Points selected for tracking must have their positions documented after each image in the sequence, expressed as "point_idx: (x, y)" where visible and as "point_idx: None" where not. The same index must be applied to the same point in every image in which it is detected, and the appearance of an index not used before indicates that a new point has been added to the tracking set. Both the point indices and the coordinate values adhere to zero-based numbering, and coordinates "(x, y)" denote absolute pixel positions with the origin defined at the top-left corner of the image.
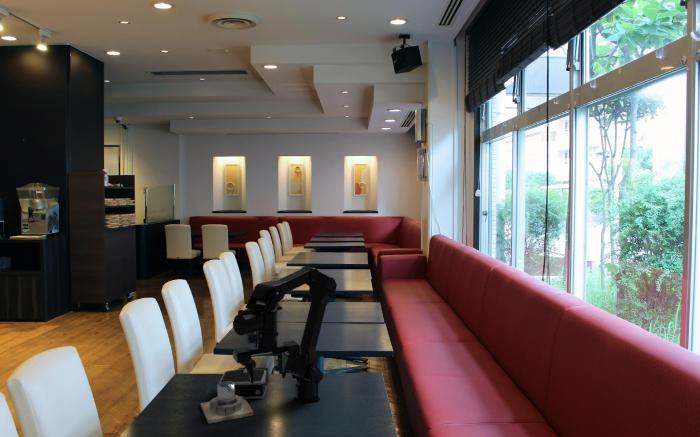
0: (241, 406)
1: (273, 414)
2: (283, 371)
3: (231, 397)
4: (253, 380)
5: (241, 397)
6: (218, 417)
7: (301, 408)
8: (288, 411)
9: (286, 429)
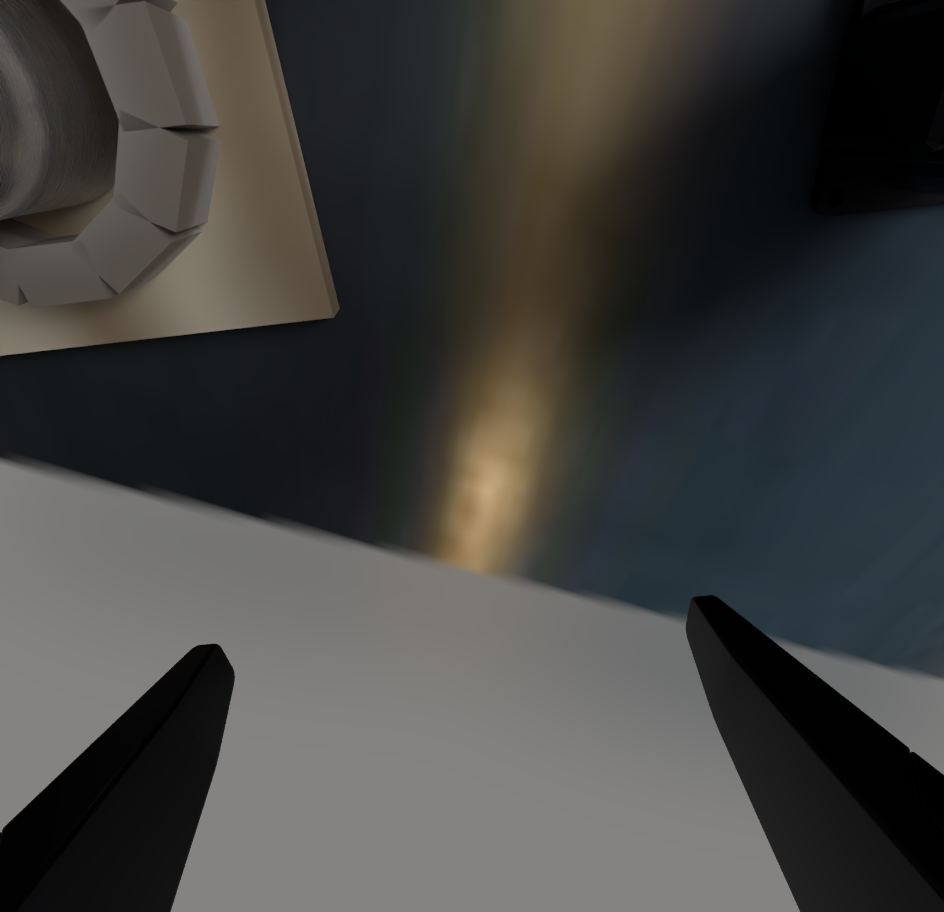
0: (200, 206)
1: (504, 345)
2: (742, 758)
3: (8, 210)
4: (222, 735)
5: (151, 32)
6: (21, 335)
7: (756, 305)
8: (634, 328)
9: (530, 564)
